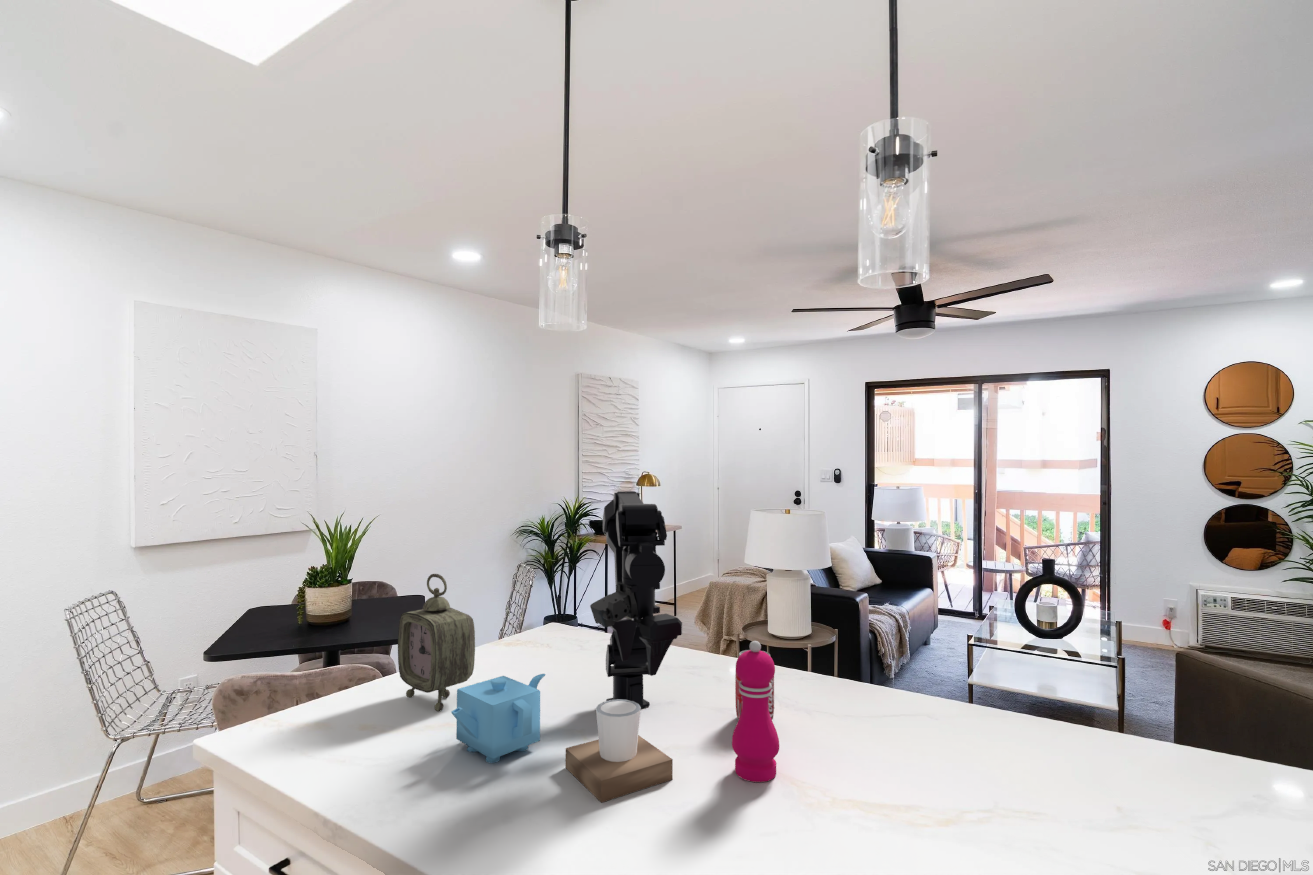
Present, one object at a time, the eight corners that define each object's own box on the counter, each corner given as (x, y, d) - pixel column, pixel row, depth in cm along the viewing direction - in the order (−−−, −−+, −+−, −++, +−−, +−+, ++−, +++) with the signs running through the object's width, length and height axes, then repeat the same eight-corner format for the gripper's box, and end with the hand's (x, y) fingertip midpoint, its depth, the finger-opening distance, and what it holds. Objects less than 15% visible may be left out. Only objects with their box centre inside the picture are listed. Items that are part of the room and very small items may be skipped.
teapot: (427, 750, 106) (428, 681, 106) (519, 718, 119) (520, 656, 119) (480, 784, 95) (481, 706, 95) (574, 744, 108) (575, 676, 108)
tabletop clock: (397, 697, 129) (398, 572, 129) (438, 685, 136) (439, 566, 136) (435, 717, 119) (437, 581, 120) (477, 702, 126) (478, 575, 127)
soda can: (772, 713, 121) (772, 649, 122) (775, 729, 114) (775, 660, 115) (735, 711, 122) (734, 648, 122) (735, 727, 115) (735, 659, 115)
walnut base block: (565, 767, 100) (565, 747, 100) (632, 748, 106) (632, 730, 106) (601, 802, 90) (601, 780, 90) (672, 779, 96) (672, 759, 96)
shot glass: (596, 743, 101) (596, 698, 102) (639, 742, 102) (639, 697, 102) (595, 764, 95) (595, 716, 95) (641, 762, 95) (641, 715, 95)
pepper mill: (782, 765, 101) (782, 636, 101) (775, 787, 94) (775, 649, 95) (737, 758, 103) (737, 632, 104) (727, 779, 96) (727, 645, 97)
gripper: (573, 572, 115) (572, 660, 114) (625, 591, 99) (624, 693, 99) (627, 567, 121) (626, 650, 120) (684, 583, 105) (684, 680, 105)
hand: (638, 667), depth 111 cm, fingers open, 9 cm apart
